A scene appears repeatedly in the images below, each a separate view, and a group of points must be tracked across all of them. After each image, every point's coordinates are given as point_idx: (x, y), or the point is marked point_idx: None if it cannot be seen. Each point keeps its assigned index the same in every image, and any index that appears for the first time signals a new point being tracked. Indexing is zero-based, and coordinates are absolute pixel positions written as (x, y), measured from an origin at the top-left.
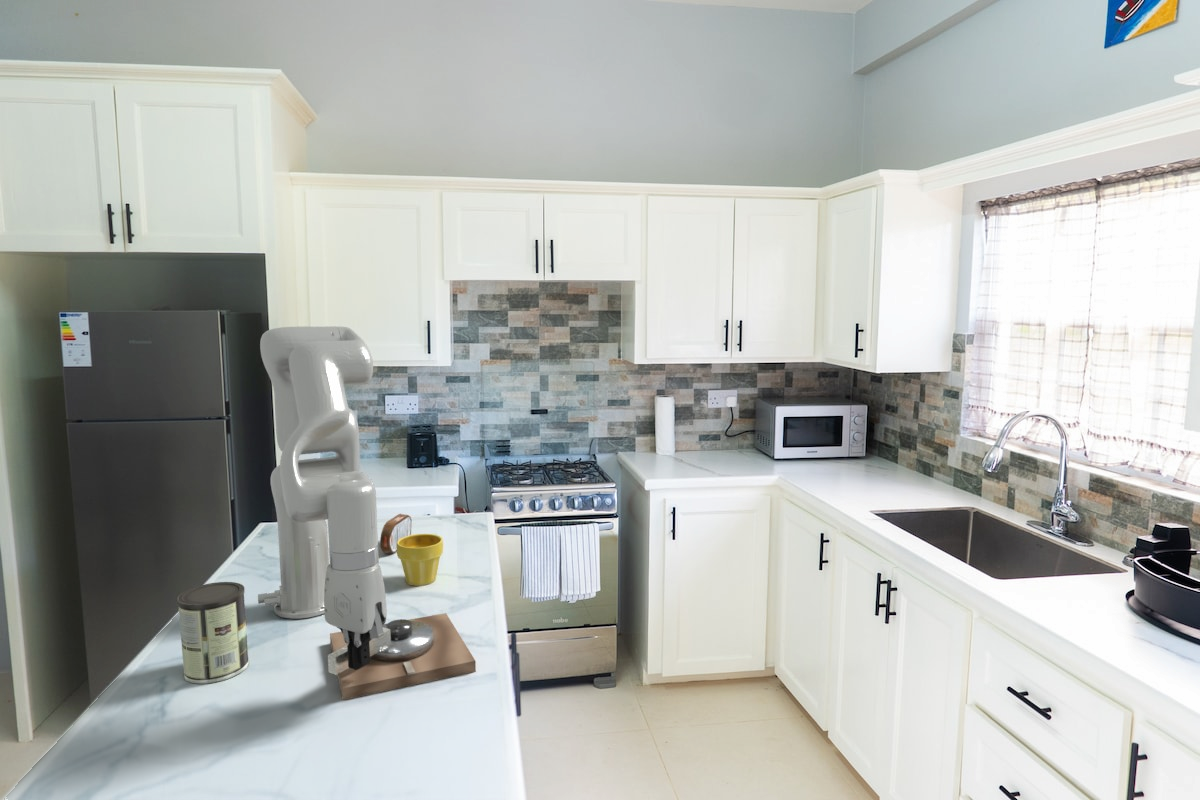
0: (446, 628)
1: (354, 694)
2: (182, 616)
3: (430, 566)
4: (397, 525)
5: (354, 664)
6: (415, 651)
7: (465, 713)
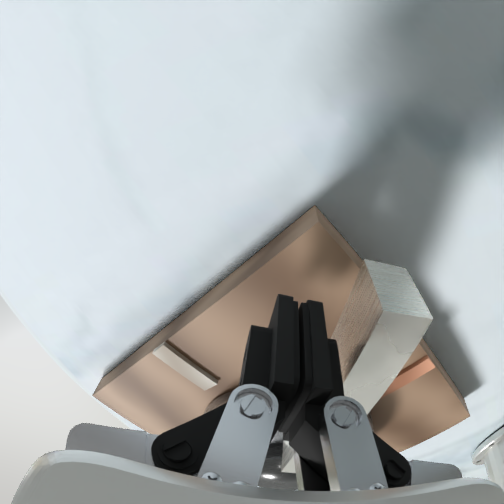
0: None
1: (284, 234)
2: None
3: None
4: None
5: (279, 308)
6: None
7: (9, 248)
